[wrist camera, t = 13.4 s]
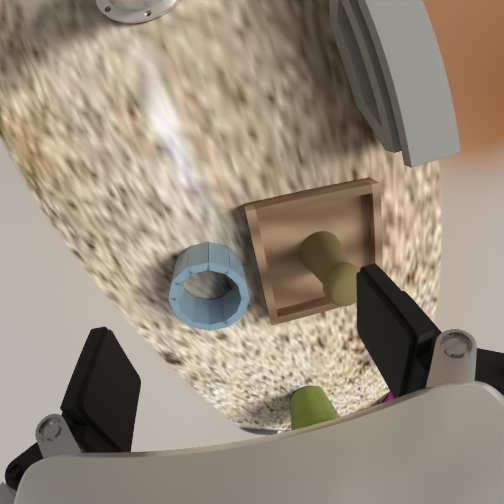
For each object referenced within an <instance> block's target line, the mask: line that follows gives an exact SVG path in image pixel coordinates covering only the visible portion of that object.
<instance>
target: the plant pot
mask: <svg viewBox="0 0 504 504" xmlns="http://www.w3.org/2000/svg"><path fill="white" fill-rule="evenodd" d="M290 411H291V429H292V430H296V429H300V428H304V427H308V426H312V425H315V424H319V423H322V422H326V421H329V420H333V419H336V418H339V417H341V416H340V415H338V413H337V412H336V410H335V409H334V407H333V405H332V404H331V402H330V401H329V399H328V398H327V396H326V394H325V393H324V391H323V390H322V389H321V388H320V387H312V386H308V387H304V388H301V389H299V390H297V391H296V392H295V393H293V395H292V397H291V398H290Z"/></svg>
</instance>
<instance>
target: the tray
mask: <svg viewBox="0 0 504 504" xmlns="http://www.w3.org/2000/svg"><path fill="white" fill-rule="evenodd" d="M243 205H244V209H245V214H246V218H247V222H248V227H249V231H250V236H251V240H252V244H253V249H254V253H255V258H256V262H257V266H258V271H259V275H260V280H261V284H262V288H263V293H264V297H265V302H266V306H267V311H268V315H269V318H270V322H271V325H275V324H279V323H283V322H287V321H291V320H295V319H298V318H302V317H306V316H310V315H313V314H317V313H321V312H324V311H328V310H331V309H335V308H338V307H342V306H338V305H334V304H333V303H331V302H330V301H329V300H328V299H327V298H326V296H325V294H324V292H323V284H322V283H321V282H320V281H319V280H318V279H317V277H316V276H315V275H314V274H313V273H312V272H311V271H310V270H309V269H308V268H307V267H306V266H305V265H304V264H303V262H302V260H301V257H300V250H301V246H302V244H303V242H304V240H305V239H306V238H307V237H308V236H309V235H311V234H313V233H315V232H319V231H328V232H330V233H333V234H334V235H335V236H336V237H337V238H338V240H339V242H340V244H341V245H342V247H343V249H344V251H345V253H346V255H347V257H348V259H349V261H350V263H352V264H354V265H356V266H358V267H359V268H361V267H363V266H367V265H370V264H374V263H376V264H377V265H378V266H379V267H380V268H381V269H382V215H381V196H380V183H379V182H377V181H375V180H373V179H371V178H365V179H360V180H355V181H349V182H344V183H339V184H334V185H329V186H324V187H319V188H315V189H310V190H305V191H300V192H296V193H291V194H286V195H282V196H277V197H273V198H269V199H264V200H260V201H255V202H251V203H247V204H243Z"/></svg>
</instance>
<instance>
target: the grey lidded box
mask: <svg viewBox="0 0 504 504" xmlns="http://www.w3.org/2000/svg"><path fill="white" fill-rule="evenodd" d="M329 26H330V29H331V31H332V34H333V37H334V39H335V42H336V45H337V48H338V50H339V53H340V56H341V59H342V62H343V65H344V68H345V71H346V74H347V77H348V81H349V84H350V87H351V90H352V94H353V97H354V101H355V104H356V106H357V107H358V109H359V110H360V112H361V113H362V115H363V116H364V118H365V119H366V121H367V122H368V124H369V125H370V127H371V128H372V130H373V131H374V133H375V134H376V136H377V137H378V139H379V140H380V142H381V144H382V145H383V147H384V148H385V150H387V151H390V152H394V153H396V152H399V151H402V155H403V160H404V165H406V166H409V167H411V168H412V167H415V166H419V165H422V164H425V163H428V162H431V161H434V160H438V159H441V158H444V157H447V156H450V155H454V154H457V153H460V145H459V137H458V131H457V124H456V118H455V113H454V107H453V102H452V97H451V93H450V88H449V84H448V80H447V75H446V71H445V68H444V64H443V60H442V57H441V53H440V50H439V46H438V43H437V40H436V37H435V34H434V31H433V28H432V25H431V22H430V19H429V16H428V14H427V11H426V8H425V6H424V4H423V1H422V0H329Z"/></svg>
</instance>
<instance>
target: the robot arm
mask: <svg viewBox="0 0 504 504" xmlns="http://www.w3.org/2000/svg"><path fill="white" fill-rule="evenodd" d="M95 1H96V5H97V6H98V8H99V10H100V11H101V12H102V13H103V14H104V15H106V16H107V17H108V18H110V19H112V20H115V21H117V22H122V23H141V22H146V21H149V20H153V19H155V18H157V17H160V16H162V15H164V14H165V13H167V12H169V11H170V10H172V9H173V8H174V7H175V6H177V5H178V4H179V3H180V2H181V0H95ZM109 10H110V11H109ZM108 11H109V12H108ZM148 14H151V15H150V16H147V15H148ZM356 287H357V331H358V334H359V336H360V338H361V340H362V342H363V343H364V345H365V347H366V348H367V350H368V352H369V354H370V355H371V357H372V359H373V361H374V362H375V364H376V366H377V368H378V369H379V371H380V373H381V375H382V376H383V378H384V380H385V382H386V384H387V385H388V387H389V389H390V391H391V393H392V394H393V396H394V398H395V399H392V400H390V401H387V402H384V403H382V404H379V405H376V406H373V407H370V408H367V409H364V410H361V411H358V412H355V413H352V414H349V415H346V416H343V417H339V418H336V419H333V420H329V421H326V422H322V423H319V424H315V425H312V426H308V427H304V428H300V429H296V430H292V431H288V432H283V433H279V434H275V435H270V436H265V437H260V438H256V439H250V440H244V441H239V442H233V443H227V444H220V445H213V446H206V447H197V448H188V449H179V450H178V449H177V450H165V451H151V452H131V445H132V438H133V431H134V424H135V417H136V411H137V405H138V399H139V393H140V387H141V380H140V377H139V375H138V374H137V372H136V370H135V369H134V367H133V366H132V364H131V362H130V361H129V359H128V358H127V356H126V354H125V353H124V351H123V349H122V348H121V346H120V344H119V342H118V341H117V339H116V337H115V335H114V334H113V332H112V331H111V330H108V329H107V328H106V327H101V328H95V329H92V330H91V331H90V333H89V335H88V338H87V340H86V342H85V345H84V347H83V350H82V352H81V354H80V357H79V359H78V362H77V364H76V367H75V369H74V372H73V374H72V377H71V380H70V382H69V385H68V388H67V390H66V393H65V396H64V399H63V402H62V405H61V407H60V409H61V410H62V411H63V412H62V415H59V414H51V415H48V416H46V417H45V418H44V419H42V420H41V422H40V423H39V424H38V426H37V428H36V433H35V435H36V440H37V442H36V443H35V444H34V445H32V446H31V447H30V448H29V449H27V450H26V451H25V452H23V453H22V454H21V455H19V456H18V457H17V458H16V459H14V460H13V461H12V462H11V463H10V464H9V465H8V467H7V469H6V472H5V480H6V484H5V483H3V482H2V483H1V484H0V504H504V353H500V352H494V351H489V350H484V349H479V348H477V345H476V342H475V339H474V338H473V337H472V336H471V335H470V334H469V333H467V332H465V331H463V330H459V329H451V330H446V331H444V332H441V331H440V330H439V329H438V328H437V327H436V325H435V324H434V323H433V322H432V321H431V320H430V318H429V317H428V316H427V315H426V314H425V313H424V312H423V310H422V309H421V308H420V307H419V306H418V305H417V304H416V303H415V301H414V300H413V299H412V298H411V297H410V296H409V295H408V294H407V293H406V292H405V291H401V290H400V289H399V288H398V286H397V285H396V284H395V283H394V282H393V281H392V280H391V279H390V278H389V277H388V276H387V275H386V273H385V272H384V271H383V270H382V269H381V268H380V267H379V266H378V265H377V264H376V263H374V264H370V265H367V266H363V267H361V268H360V272H357V274H356Z"/></svg>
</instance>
